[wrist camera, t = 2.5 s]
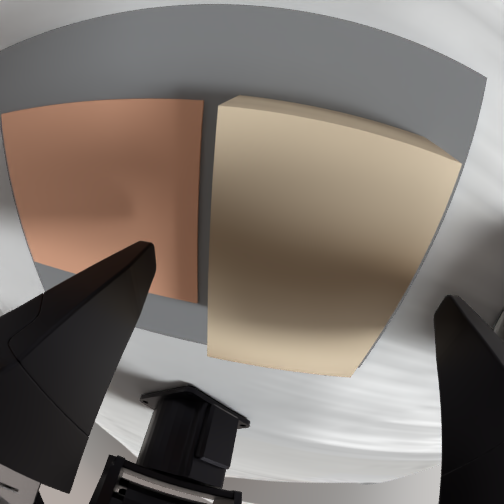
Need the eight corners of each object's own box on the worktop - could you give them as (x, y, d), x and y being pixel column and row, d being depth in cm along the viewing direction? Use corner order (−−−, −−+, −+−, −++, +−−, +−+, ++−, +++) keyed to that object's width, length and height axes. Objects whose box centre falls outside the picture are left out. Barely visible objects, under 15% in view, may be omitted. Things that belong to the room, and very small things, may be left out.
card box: (346, 330, 12) (350, 377, 10) (220, 310, 12) (207, 356, 10) (424, 137, 7) (461, 163, 5) (239, 95, 7) (218, 105, 5)
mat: (358, 361, 14) (359, 369, 14) (51, 294, 15) (47, 299, 14) (480, 76, 6) (488, 78, 5) (5, 50, 7) (-3, 52, 6)
